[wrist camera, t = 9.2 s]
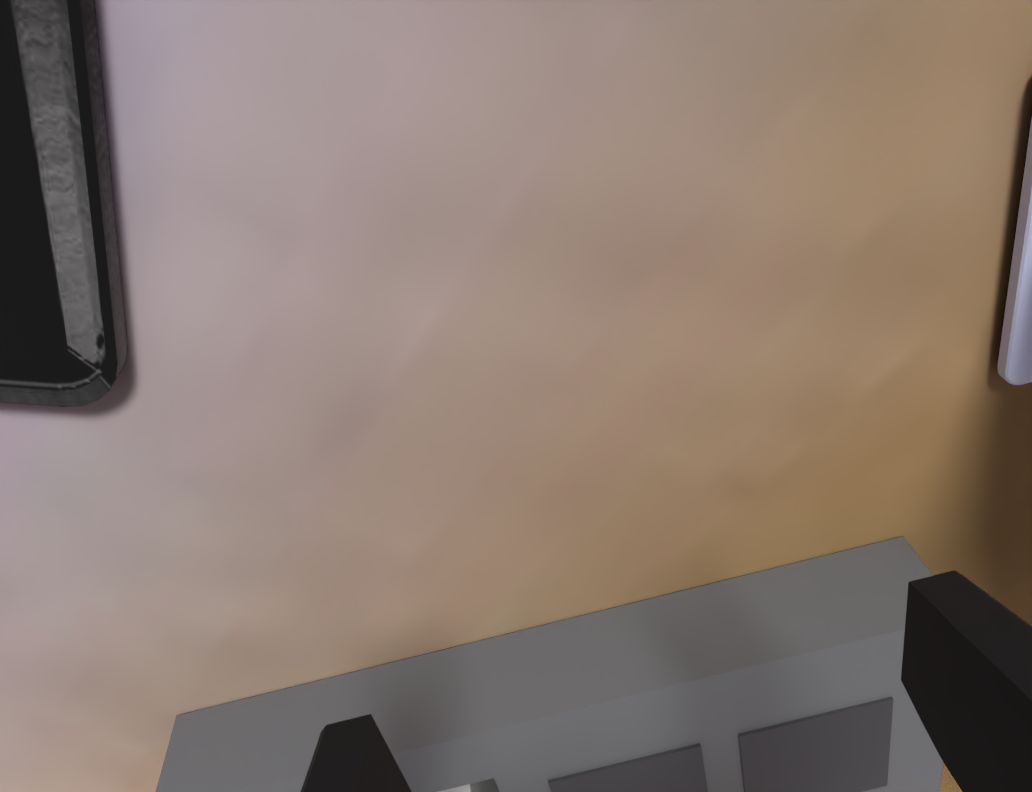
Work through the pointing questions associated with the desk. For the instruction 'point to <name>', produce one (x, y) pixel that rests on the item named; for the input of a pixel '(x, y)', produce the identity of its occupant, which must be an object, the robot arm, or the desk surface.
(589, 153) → the desk surface
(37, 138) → the phone
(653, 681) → the power strip
